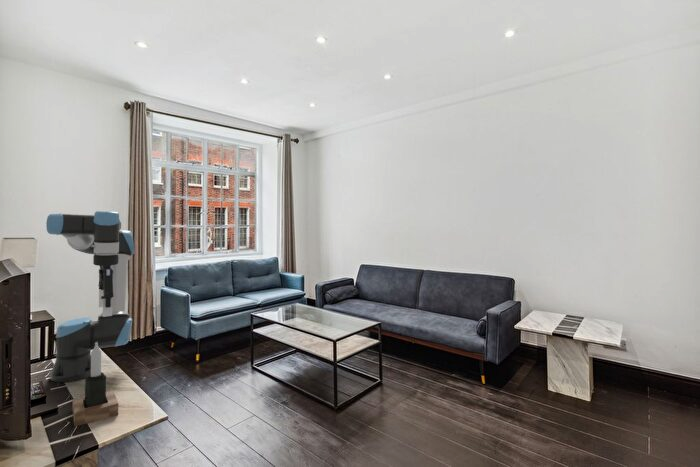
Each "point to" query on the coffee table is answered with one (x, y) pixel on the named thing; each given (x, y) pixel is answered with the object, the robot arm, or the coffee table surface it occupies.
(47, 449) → the coffee table surface
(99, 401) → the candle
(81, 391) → the coffee table surface
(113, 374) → the coffee table surface
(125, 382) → the coffee table surface
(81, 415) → the block
